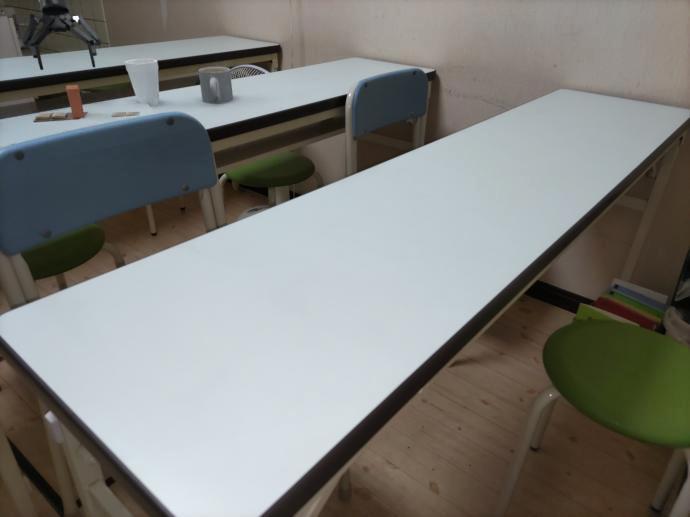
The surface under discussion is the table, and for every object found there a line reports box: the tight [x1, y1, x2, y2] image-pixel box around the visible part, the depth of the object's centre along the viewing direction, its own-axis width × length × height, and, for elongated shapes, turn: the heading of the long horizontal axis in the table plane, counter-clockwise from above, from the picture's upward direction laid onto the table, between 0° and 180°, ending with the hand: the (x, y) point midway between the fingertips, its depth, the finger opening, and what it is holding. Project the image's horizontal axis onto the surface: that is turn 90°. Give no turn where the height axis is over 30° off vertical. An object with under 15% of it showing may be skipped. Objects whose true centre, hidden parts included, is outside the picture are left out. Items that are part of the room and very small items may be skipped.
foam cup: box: [124, 58, 160, 107], centre depth 159 cm, size 10×9×13 cm
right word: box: [96, 111, 140, 118], centre depth 147 cm, size 12×8×2 cm, turn 106°
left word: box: [33, 111, 89, 123], centre depth 145 cm, size 13×8×2 cm, turn 106°
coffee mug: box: [198, 66, 234, 104], centre depth 165 cm, size 13×10×10 cm
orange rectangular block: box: [65, 84, 86, 119], centre depth 144 cm, size 3×5×8 cm, turn 26°
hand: (67, 65), depth 146 cm, fingers open, 13 cm apart
